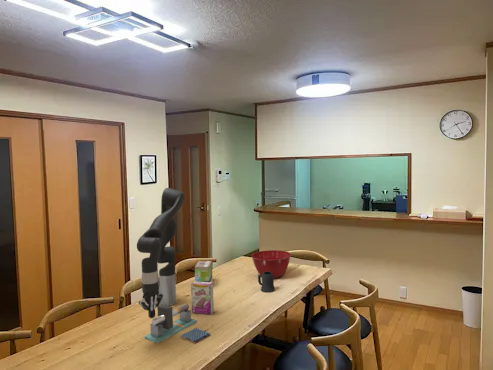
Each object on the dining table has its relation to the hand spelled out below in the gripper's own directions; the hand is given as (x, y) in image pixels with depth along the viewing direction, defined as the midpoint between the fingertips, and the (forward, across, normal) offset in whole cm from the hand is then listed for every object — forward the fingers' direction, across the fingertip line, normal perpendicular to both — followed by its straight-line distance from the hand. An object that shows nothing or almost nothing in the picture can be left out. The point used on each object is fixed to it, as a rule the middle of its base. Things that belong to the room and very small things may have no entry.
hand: (152, 317), depth 167 cm
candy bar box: (+11, -36, -1) cm, 38 cm away
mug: (+11, -84, +10) cm, 85 cm away
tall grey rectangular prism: (+7, -8, 0) cm, 11 cm away
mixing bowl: (+11, -111, -2) cm, 111 cm away
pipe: (+10, -12, 0) cm, 16 cm away
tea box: (+11, -71, -31) cm, 78 cm away
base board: (+10, -12, 0) cm, 16 cm away
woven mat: (+11, -13, +15) cm, 23 cm away
